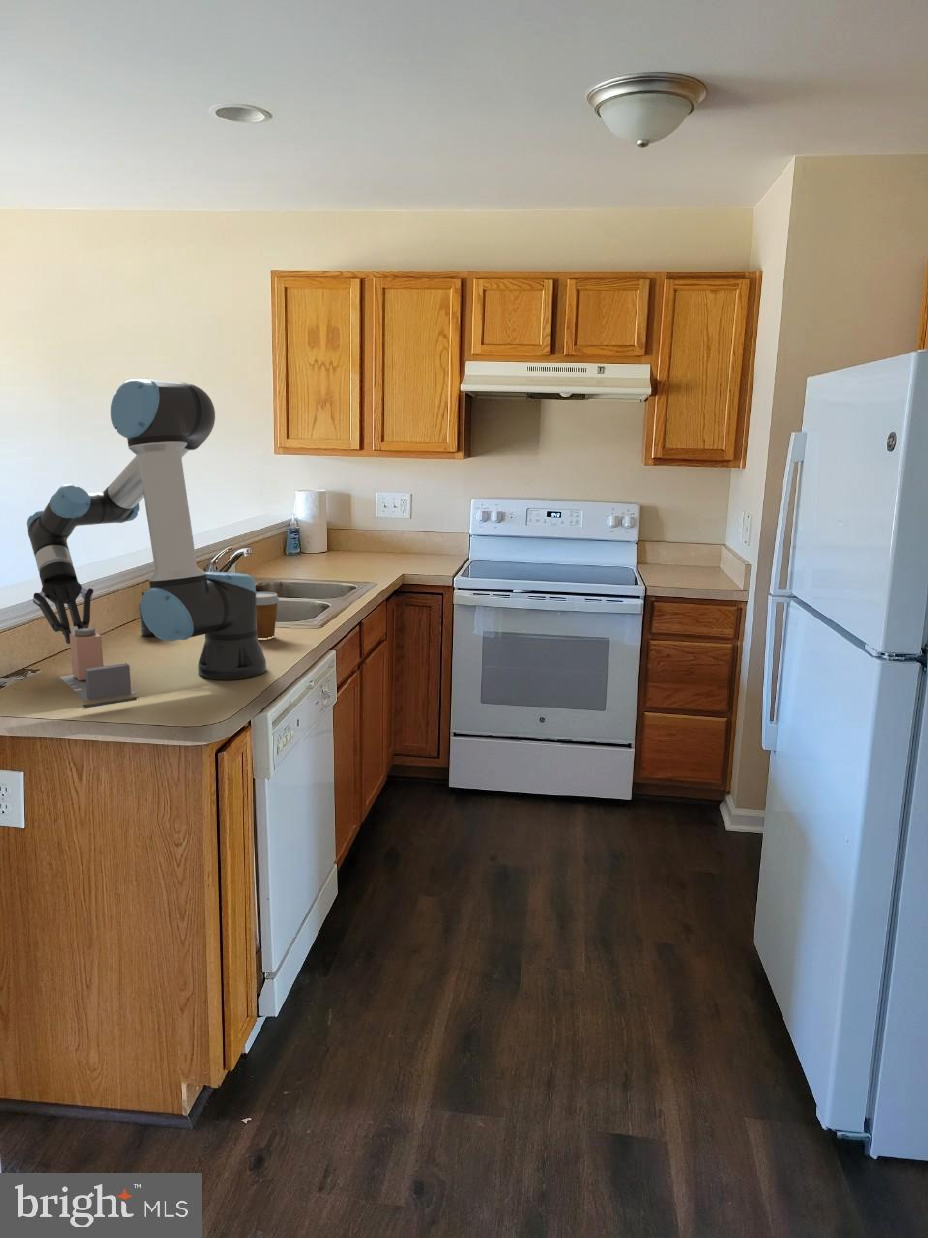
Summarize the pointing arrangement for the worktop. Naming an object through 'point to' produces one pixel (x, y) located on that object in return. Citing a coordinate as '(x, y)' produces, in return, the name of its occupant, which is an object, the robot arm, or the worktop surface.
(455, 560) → the worktop surface
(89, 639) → the terracotta plug block
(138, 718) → the worktop surface
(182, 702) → the worktop surface
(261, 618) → the disposable coffee cup
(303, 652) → the worktop surface
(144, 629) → the supplement bottle
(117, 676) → the slate track
